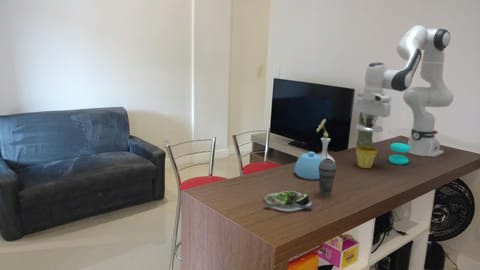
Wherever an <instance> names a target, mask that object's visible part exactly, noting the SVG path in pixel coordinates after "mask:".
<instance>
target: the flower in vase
mask: <svg viewBox="0 0 480 270" xmlns="http://www.w3.org/2000/svg"><path fill="white" fill-rule="evenodd" d="M326 121H327V120H326V118H324V119H323V120H322V121H321V123H320V124H319V125H318V128H316V132H317V133H319V131H320V130H321V129H323V130H324V132H323V136H322V137H321V138H320V140H321V142H322V150H321V152H320V154H318V155H319V156H321V158H322V160H323V159H326V148H327V149H328V145H329V143H330V141H331V138H329V134H328V132H327V131H326V128H325V126H324V125H325V123H326ZM327 158H329V159H331V160H333V161H334V162H335V163H336V161H335V159H334V158H333V157H332V156H331V155H330V153H328V152H327Z"/></svg>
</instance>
